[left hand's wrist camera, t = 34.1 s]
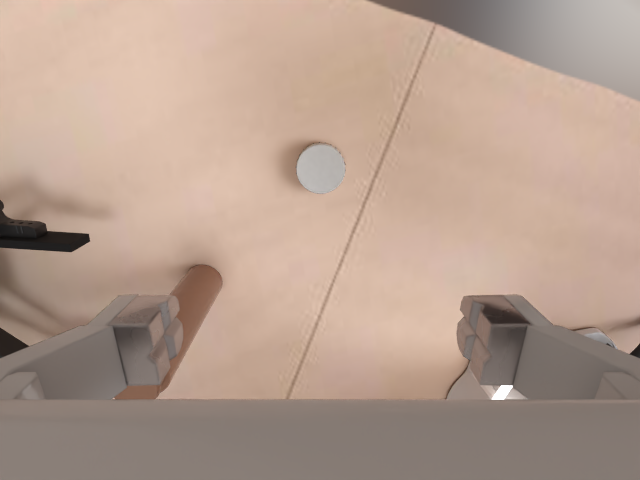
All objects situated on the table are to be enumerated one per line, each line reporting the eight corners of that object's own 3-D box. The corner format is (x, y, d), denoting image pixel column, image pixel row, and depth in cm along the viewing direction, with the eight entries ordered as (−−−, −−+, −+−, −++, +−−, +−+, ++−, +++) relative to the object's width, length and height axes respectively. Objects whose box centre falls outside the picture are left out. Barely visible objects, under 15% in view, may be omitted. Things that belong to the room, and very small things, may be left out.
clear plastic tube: (225, 269, 40) (165, 372, 25) (218, 301, 42) (158, 417, 26) (188, 260, 40) (104, 358, 24) (183, 292, 41) (100, 404, 26)
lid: (312, 132, 35) (311, 133, 34) (354, 158, 36) (355, 161, 34) (287, 175, 37) (286, 178, 35) (328, 199, 38) (329, 203, 36)
